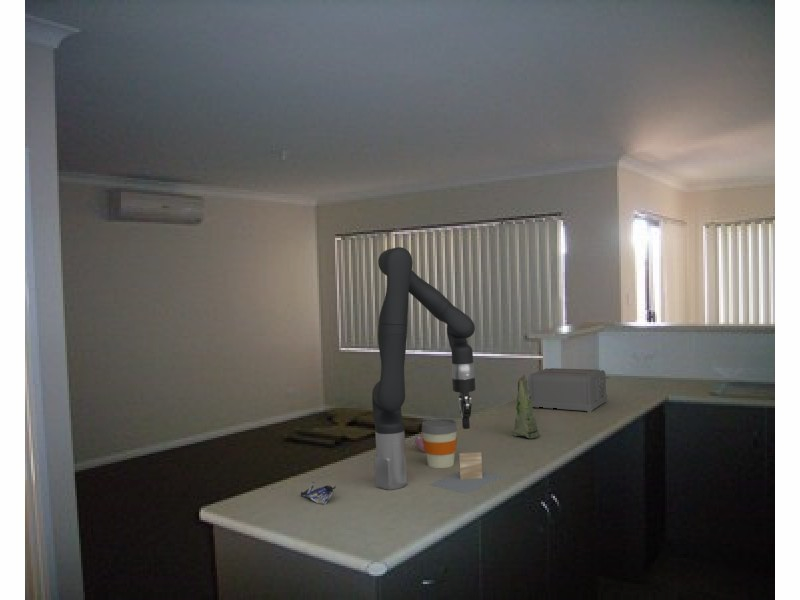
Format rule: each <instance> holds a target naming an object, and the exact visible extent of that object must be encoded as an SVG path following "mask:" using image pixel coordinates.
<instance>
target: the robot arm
mask: <svg viewBox="0 0 800 600" xmlns="http://www.w3.org/2000/svg"><path fill="white" fill-rule="evenodd" d="M411 254H412V253H410V251H409V250H408V249H407V248H405V247H401V246H400V247H391V248H388V249H385V250H384V251H383V252H382V253H380V255H379V256H378V259H377V264H378V268H379V270H380V272H381V273H383V275H385V276H386V292H385V296H384V300H383V303H382V305H381V309H380V311H379V315H378V316H379V317H378V324H377V325H378V328H377V344H378V350H379V356H380V358H379V359H380V364H381V365H380V368H381V369H380V376H379V377H380V379H379V381H378V382H376V383H375V384H374V387H373V389H372V392H371V393H372V395H371V397H372V399H371V401H372V402H371V403H372V415H373V422H374V428H375V429H374V430H375V431H374V433H375V448H376V449H375V452H376V456H374V460H373V461H374V482H375V488H376V487H377V488H380V489H382V490H383V489H384V490H388V491H391V490H397V489H401V488H404V487H406V486H407V485H408V484H407V481H408V480H407V463H406V462H407V461H406V460H407V459H406V440H405V439H406V438H405V437H406V436H405V434H406V433H405V422H404V420H403V419H404V418H403V414H402V407H403V405H404V402H405V399H406V386H405V385H406V381H405V360H406V353H407V351H406V350H407V338H408V320H409V319H408V318H409V317H408V315H409V294H410V295H411V296H413V298H414V299H416V300H417V301H418V303H420V305H422V306H423V307H424V308H425V309H427V311H429V313H430V314H431V315H433V317H434V318H436V320H438V321H440V322H442V323H445V325H447V326H446V335H447V339H448V342H449V347H450V350H451V377H452V378H451V381H452V382H451V383H452V390H453V392H455V393H459V395H458V396H457V400H458V405H459V406H458V407H459V411H460V412H459V413H460V416H461V423H462V429H463V430H469V429H470V428H471V425H470V423H471V422H470V418H471V416H472V415H471V413H472V406H473V405H472V396H471V395H470V392H474V391H476V374H475V373H476V372H475V366H474V355H473V354H474V353H473V348H472V346H471V345H470V344H469V343H468V338H470V337H472V336H474V333H475V330H476V327H475V323H474V321H473V319H471V317H470V316H469V315H467V314H466V313H465V312H463V311H462V310H461V309H459V308H458V307H456V306H455V305H454V304H452V303H451V301H450V300H449V299H448V298H447V297H446V296H445V295H443V294H442V292H441V291H439V290H438V289H437V288H436V287H435V286H433V285H431V284H430V283H428V282H427V281H426V280H424V279H423V278H422V277H420V276H419V275H418V274H417V273H416V272H415V271H413V261H414V260H413V257H412V255H411Z"/></svg>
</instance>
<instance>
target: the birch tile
mask: <svg viewBox="0 0 800 600" xmlns="http://www.w3.org/2000/svg"><path fill="white" fill-rule="evenodd" d="M458 458H459V459H458V462H459V463H458V465H459V472H460V479H475V478H482V472H483V466H482V465H483V462H482V460H483V459H482V452H481V451H473V452H459V453H458Z"/></svg>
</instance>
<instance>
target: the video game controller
mask: <svg viewBox="0 0 800 600" xmlns="http://www.w3.org/2000/svg"><path fill="white" fill-rule="evenodd" d="M414 444H415V446H416V447H417V448H418V450H420V451H421V452H422V453H425V451H424V445H423V433H422V434H420V435H418V436H417V437H416V438H415V439H414Z"/></svg>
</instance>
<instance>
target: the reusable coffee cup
mask: <svg viewBox="0 0 800 600" xmlns="http://www.w3.org/2000/svg"><path fill="white" fill-rule="evenodd" d="M457 425H458V424H457V421H456V420H453V419H448V418H435V419H428V420H423V421H422V422H421V432H422V434H423V445H424V451H425V452H424V453H425V454H426V462H427V465H428V467H431V468H434V469H435V468H437V469H442V468H443V469H444V468H445V469H446V468H450V467H452V466H454V463H455V453H456V452H457V445H458V444H457V442H458V438H457V432H458V426H457Z"/></svg>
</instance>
